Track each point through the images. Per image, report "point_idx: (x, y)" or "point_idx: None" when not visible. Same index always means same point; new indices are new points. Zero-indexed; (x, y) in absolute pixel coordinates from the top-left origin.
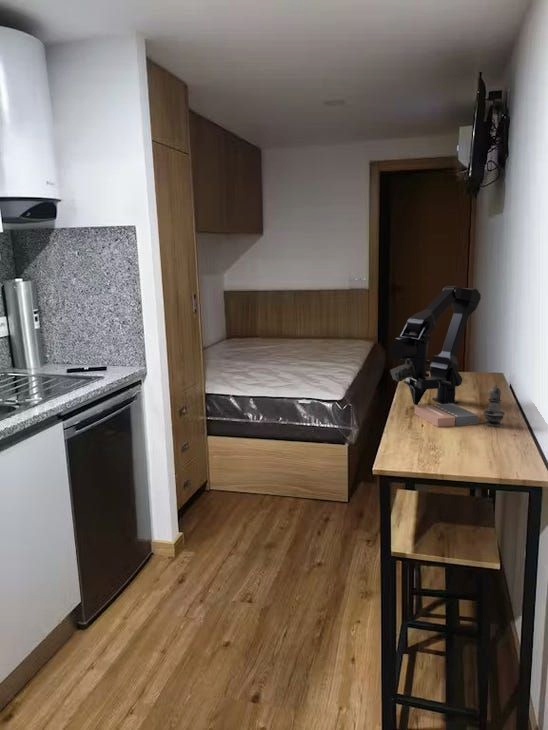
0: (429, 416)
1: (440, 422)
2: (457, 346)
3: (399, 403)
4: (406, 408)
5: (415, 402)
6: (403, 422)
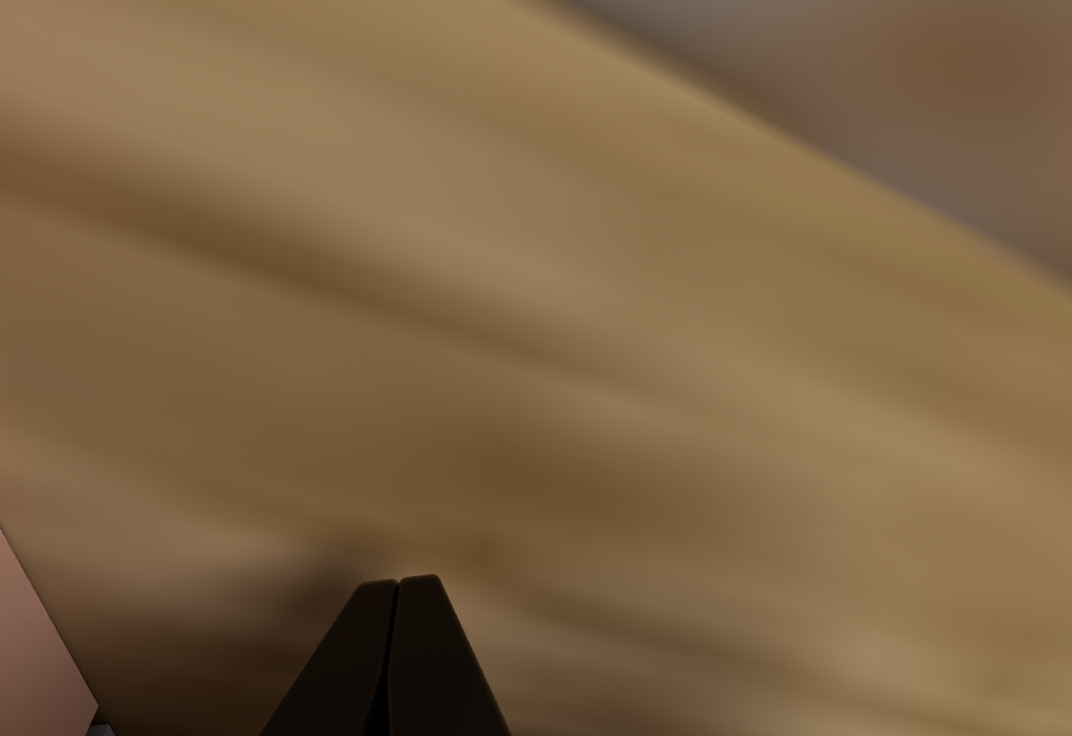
0: None
1: None
2: None
3: (1050, 314)
4: (520, 328)
5: (326, 651)
6: None
